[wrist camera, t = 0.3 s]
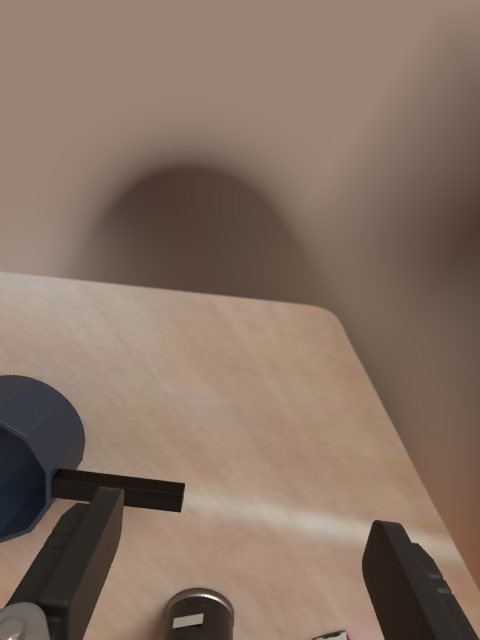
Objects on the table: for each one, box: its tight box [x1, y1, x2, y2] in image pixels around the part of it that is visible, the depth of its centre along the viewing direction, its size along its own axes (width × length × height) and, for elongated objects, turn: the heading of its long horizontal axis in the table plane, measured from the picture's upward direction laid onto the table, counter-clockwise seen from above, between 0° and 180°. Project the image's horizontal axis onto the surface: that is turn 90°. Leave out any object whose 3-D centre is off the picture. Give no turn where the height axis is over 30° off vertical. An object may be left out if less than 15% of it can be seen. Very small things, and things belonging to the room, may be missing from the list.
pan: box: [0, 375, 185, 543], centre depth 39 cm, size 15×28×8 cm, turn 82°
